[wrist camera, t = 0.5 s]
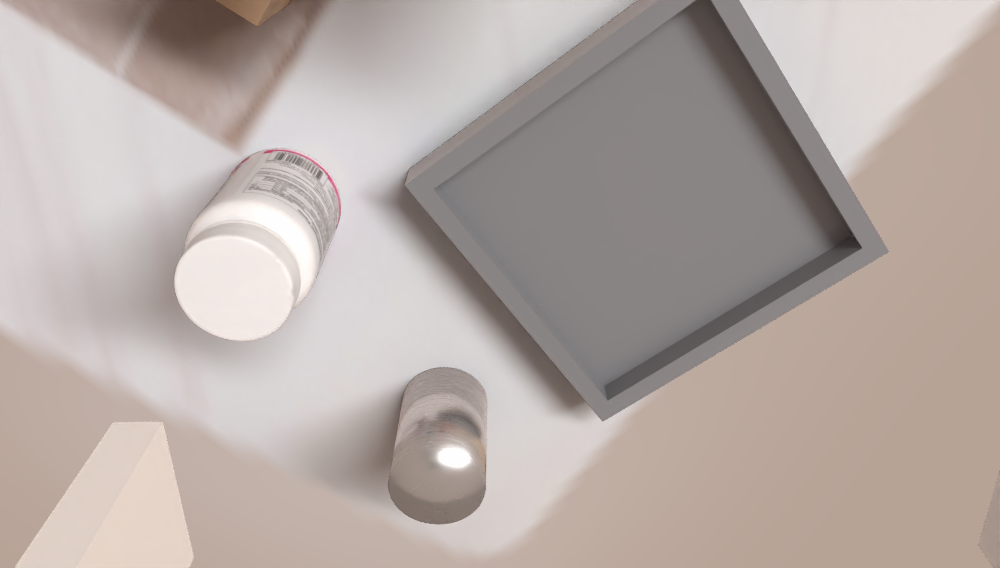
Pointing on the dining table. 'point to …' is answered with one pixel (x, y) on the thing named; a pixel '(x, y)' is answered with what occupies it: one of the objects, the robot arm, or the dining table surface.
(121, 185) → the dining table surface
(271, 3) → the walnut block
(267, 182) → the pill bottle
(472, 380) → the cylinder
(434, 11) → the dining table surface
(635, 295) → the tray
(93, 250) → the dining table surface
